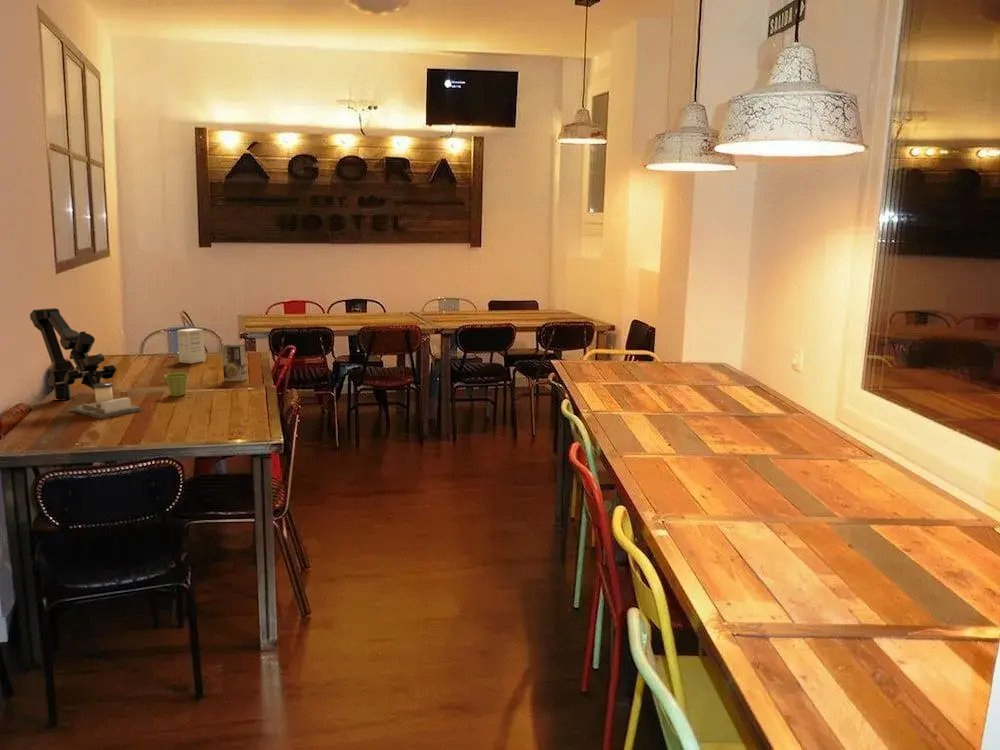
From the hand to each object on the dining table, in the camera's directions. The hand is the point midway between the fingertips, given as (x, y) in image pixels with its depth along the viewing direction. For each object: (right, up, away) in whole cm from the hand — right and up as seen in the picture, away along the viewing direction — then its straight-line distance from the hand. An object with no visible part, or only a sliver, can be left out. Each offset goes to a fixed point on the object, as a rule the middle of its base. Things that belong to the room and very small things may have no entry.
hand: (99, 391), depth 319 cm
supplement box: (-4, +13, +107) cm, 108 cm away
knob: (+3, -6, -1) cm, 6 cm away
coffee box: (+34, +4, +60) cm, 69 cm away
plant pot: (+20, -2, +28) cm, 34 cm away
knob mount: (+3, -8, -1) cm, 8 cm away
